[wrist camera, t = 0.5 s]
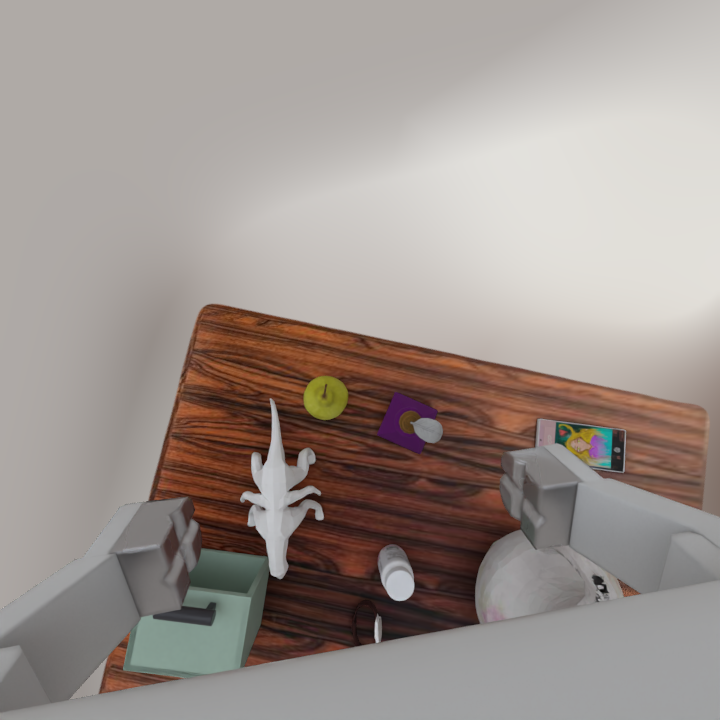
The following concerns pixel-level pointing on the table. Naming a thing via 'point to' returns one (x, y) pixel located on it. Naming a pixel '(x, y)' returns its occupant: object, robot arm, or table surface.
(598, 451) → the smartphone
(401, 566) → the pill bottle
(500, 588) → the ceramic pitcher
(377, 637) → the watch
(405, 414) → the perfume bottle
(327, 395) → the fruit
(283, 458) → the white toy dinosaur
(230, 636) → the basket
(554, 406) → the table surface
